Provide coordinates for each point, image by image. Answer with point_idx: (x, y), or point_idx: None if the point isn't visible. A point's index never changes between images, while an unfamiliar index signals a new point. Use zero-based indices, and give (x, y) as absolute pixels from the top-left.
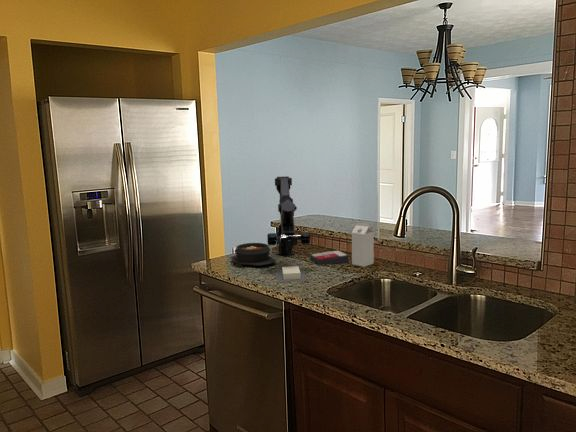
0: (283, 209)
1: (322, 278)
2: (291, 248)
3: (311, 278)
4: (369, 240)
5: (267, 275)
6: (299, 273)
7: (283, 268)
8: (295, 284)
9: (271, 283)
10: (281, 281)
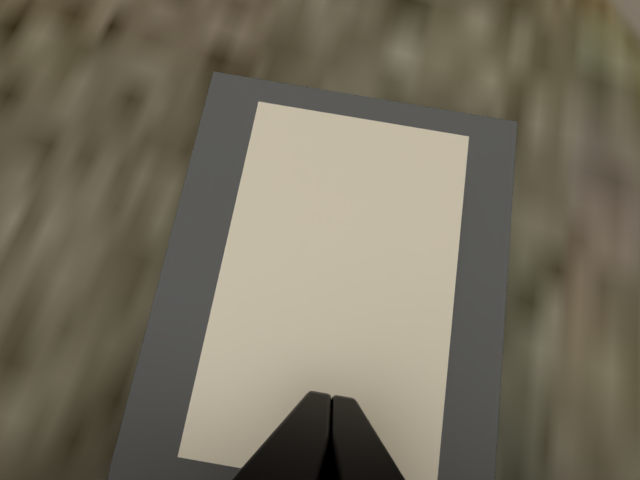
0: None
1: (22, 131)
2: (274, 467)
3: (133, 167)
4: None
5: (610, 459)
6: (272, 106)
7: (429, 391)
8: (352, 34)
9: (577, 132)
10: (478, 123)
